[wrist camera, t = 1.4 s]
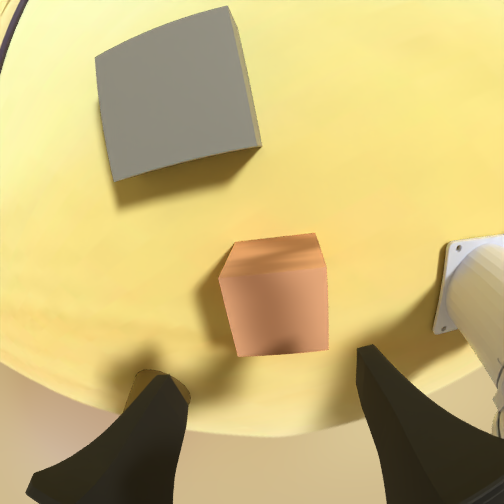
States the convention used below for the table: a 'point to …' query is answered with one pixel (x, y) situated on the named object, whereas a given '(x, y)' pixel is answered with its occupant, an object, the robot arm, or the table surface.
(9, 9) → the book
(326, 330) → the terracotta cube
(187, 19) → the gray block
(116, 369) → the table surface
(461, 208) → the table surface
